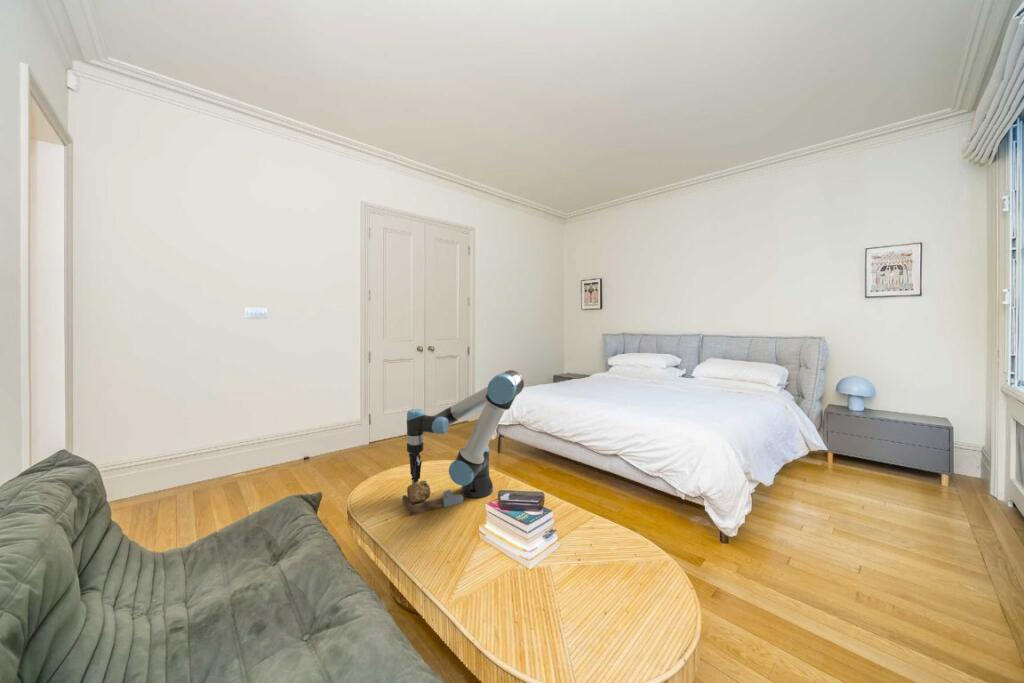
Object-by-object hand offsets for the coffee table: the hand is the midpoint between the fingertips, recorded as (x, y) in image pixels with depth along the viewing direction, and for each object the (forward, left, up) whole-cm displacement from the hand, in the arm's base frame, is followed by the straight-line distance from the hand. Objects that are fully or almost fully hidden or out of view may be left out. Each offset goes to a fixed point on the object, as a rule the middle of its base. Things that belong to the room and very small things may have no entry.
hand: (415, 491), depth 185 cm
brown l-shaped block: (-1, +10, -2) cm, 11 cm away
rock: (+1, +8, -2) cm, 8 cm away
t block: (-13, +13, -2) cm, 18 cm away
